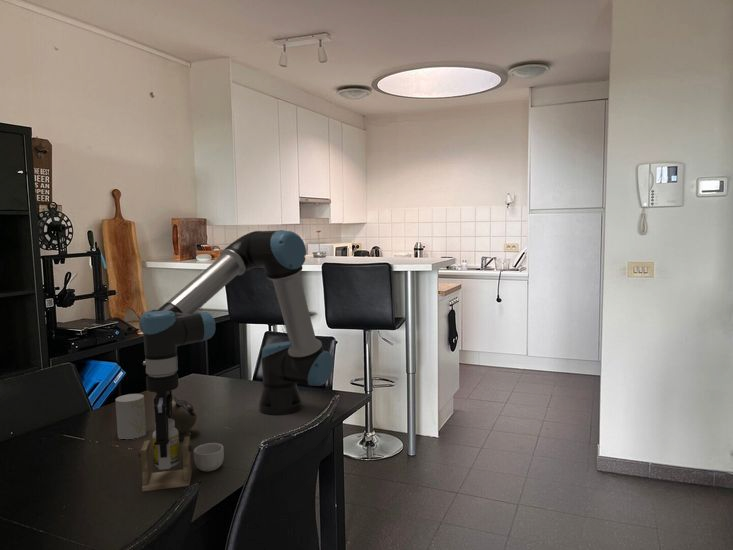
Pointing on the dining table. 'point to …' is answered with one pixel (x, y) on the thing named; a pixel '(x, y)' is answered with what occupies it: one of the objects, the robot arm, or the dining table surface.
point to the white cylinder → (130, 416)
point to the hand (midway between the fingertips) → (166, 462)
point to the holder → (167, 477)
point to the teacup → (209, 456)
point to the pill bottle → (174, 444)
